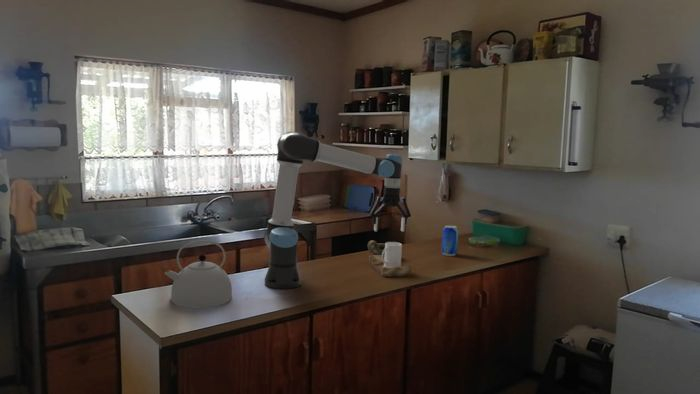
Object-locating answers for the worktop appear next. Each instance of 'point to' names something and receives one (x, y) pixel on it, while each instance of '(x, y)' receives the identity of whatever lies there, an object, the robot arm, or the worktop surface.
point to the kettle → (200, 283)
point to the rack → (388, 271)
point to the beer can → (449, 240)
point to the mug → (392, 254)
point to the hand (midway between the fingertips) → (388, 231)
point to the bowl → (376, 248)
